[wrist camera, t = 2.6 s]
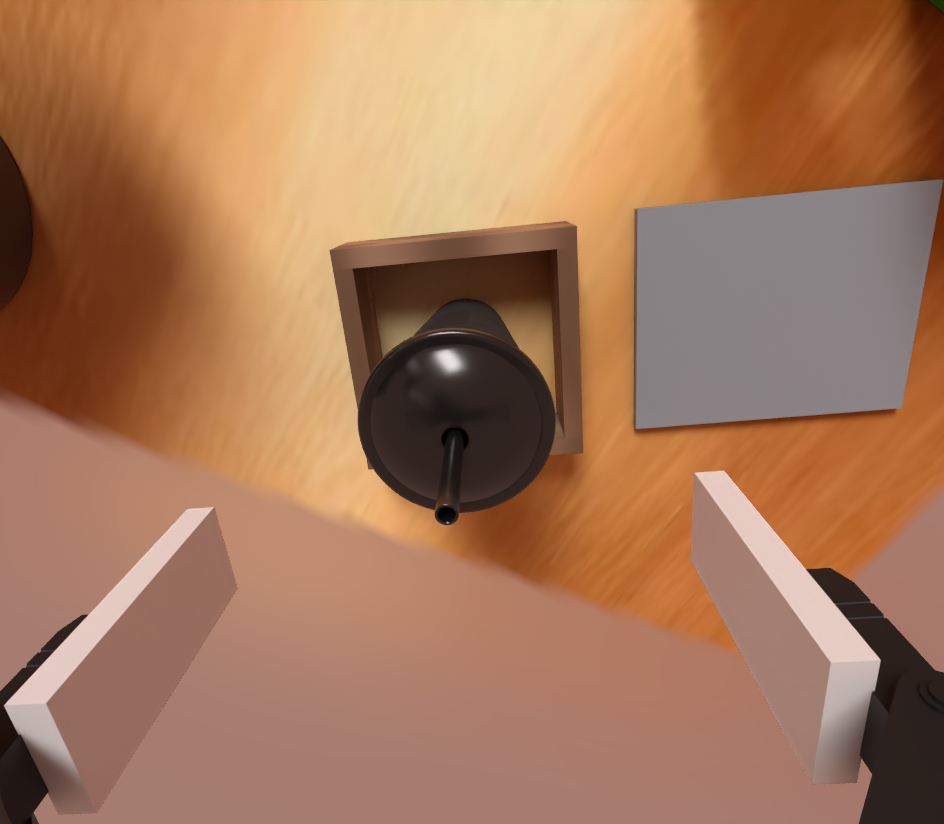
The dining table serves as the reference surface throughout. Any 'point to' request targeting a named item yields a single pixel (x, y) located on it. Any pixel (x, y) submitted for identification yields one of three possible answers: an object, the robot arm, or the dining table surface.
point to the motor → (938, 4)
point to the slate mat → (779, 303)
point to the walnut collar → (553, 236)
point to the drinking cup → (457, 414)
